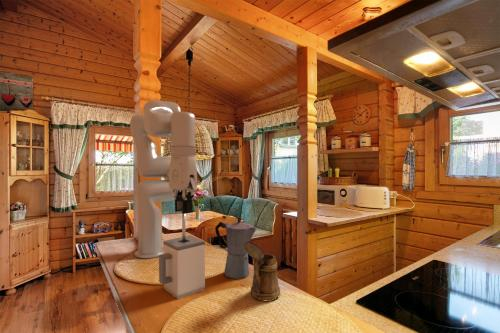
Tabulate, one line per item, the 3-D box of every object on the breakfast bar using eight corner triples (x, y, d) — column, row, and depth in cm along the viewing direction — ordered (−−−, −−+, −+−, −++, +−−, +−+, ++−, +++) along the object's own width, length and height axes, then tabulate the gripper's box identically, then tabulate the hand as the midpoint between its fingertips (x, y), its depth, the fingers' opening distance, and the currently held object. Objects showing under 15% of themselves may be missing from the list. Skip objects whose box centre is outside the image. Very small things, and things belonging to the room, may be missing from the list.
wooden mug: (235, 302, 79) (235, 238, 78) (260, 285, 90) (260, 229, 90) (262, 312, 74) (262, 244, 74) (285, 292, 85) (285, 233, 85)
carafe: (154, 291, 86) (154, 242, 85) (189, 280, 94) (189, 235, 94) (168, 302, 79) (167, 249, 79) (205, 289, 87) (204, 241, 87)
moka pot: (254, 281, 92) (254, 221, 92) (210, 278, 95) (209, 219, 95) (259, 270, 102) (259, 215, 101) (218, 267, 105) (218, 214, 104)
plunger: (170, 251, 87) (170, 200, 87) (187, 247, 91) (187, 199, 91) (180, 256, 83) (179, 202, 83) (197, 251, 87) (197, 201, 87)
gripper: (159, 153, 90) (160, 210, 91) (186, 151, 78) (186, 217, 78) (181, 153, 95) (181, 207, 96) (208, 152, 83) (209, 214, 83)
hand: (183, 211), depth 87 cm, fingers closed on plunger, 4 cm apart
